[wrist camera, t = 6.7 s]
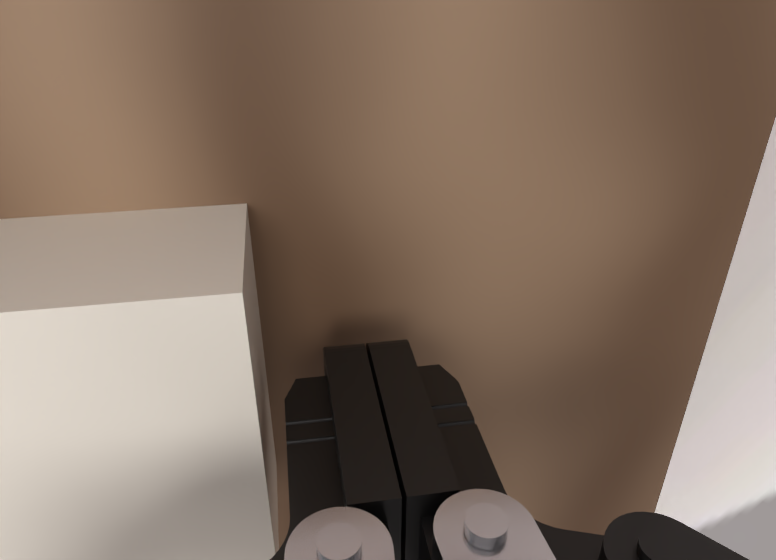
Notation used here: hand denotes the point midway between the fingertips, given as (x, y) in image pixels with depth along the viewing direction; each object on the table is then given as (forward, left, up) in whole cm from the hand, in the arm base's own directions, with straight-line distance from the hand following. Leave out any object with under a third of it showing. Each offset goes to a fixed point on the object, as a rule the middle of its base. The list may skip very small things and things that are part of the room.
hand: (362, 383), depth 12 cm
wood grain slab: (0, 0, -6) cm, 6 cm away
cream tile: (+5, 0, -1) cm, 5 cm away
